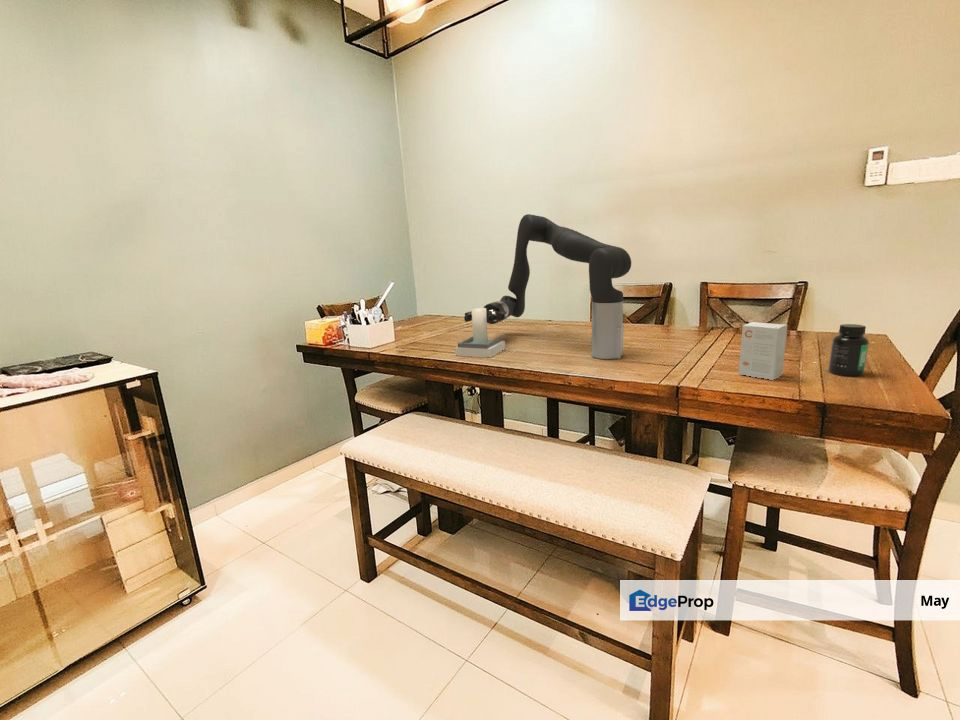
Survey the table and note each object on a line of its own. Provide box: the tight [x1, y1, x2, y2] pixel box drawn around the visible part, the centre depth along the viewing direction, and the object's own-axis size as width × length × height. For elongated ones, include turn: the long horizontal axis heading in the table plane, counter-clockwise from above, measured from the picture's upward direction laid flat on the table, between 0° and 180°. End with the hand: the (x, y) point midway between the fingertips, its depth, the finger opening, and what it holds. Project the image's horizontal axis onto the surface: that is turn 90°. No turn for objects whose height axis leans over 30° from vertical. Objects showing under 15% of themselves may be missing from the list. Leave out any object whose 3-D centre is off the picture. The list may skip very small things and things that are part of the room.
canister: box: [471, 307, 489, 344], centre depth 151 cm, size 5×5×12 cm
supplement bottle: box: [828, 323, 870, 378], centre depth 108 cm, size 7×7×12 cm
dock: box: [454, 336, 506, 359], centre depth 153 cm, size 13×13×4 cm
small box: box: [738, 321, 788, 381], centre depth 110 cm, size 8×6×13 cm
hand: (477, 319), depth 149 cm, fingers open, 8 cm apart
